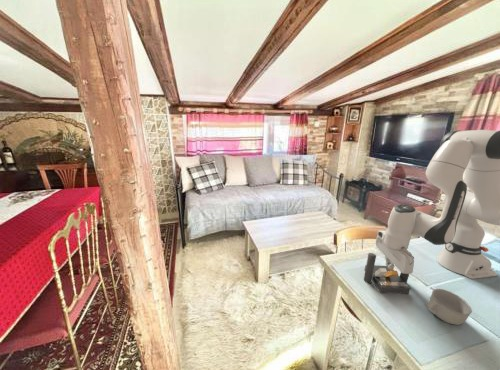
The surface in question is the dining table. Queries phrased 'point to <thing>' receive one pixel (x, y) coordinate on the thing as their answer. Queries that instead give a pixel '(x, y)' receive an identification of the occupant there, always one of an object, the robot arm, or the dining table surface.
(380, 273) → the paddle right
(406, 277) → the post
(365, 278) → the post
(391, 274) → the paddle centre
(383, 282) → the black flat block
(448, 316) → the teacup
